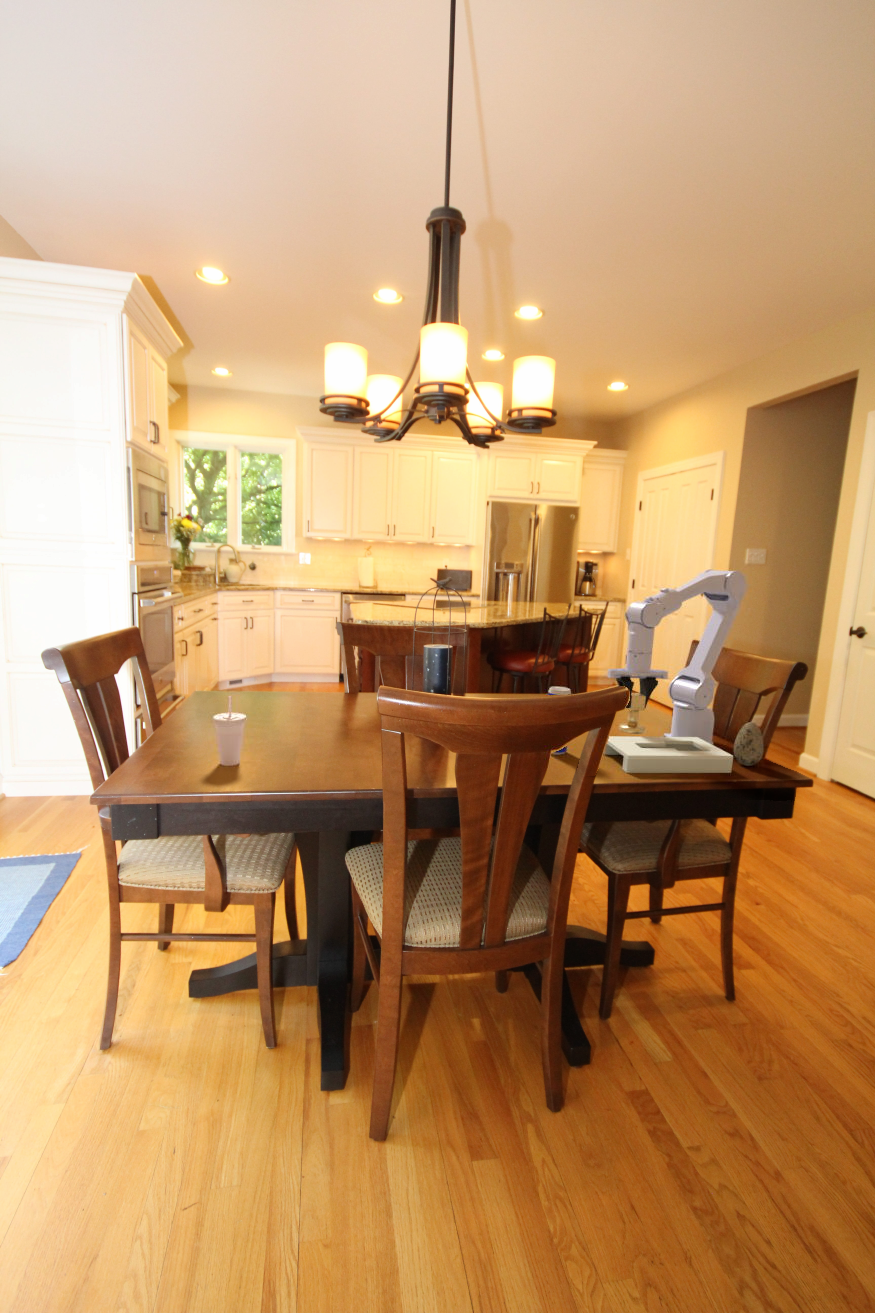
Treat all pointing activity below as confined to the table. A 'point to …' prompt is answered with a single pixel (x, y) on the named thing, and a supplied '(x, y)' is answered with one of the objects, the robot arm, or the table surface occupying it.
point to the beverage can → (559, 691)
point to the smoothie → (229, 735)
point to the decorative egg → (749, 745)
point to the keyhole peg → (634, 715)
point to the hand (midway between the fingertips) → (634, 707)
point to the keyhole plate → (669, 755)
